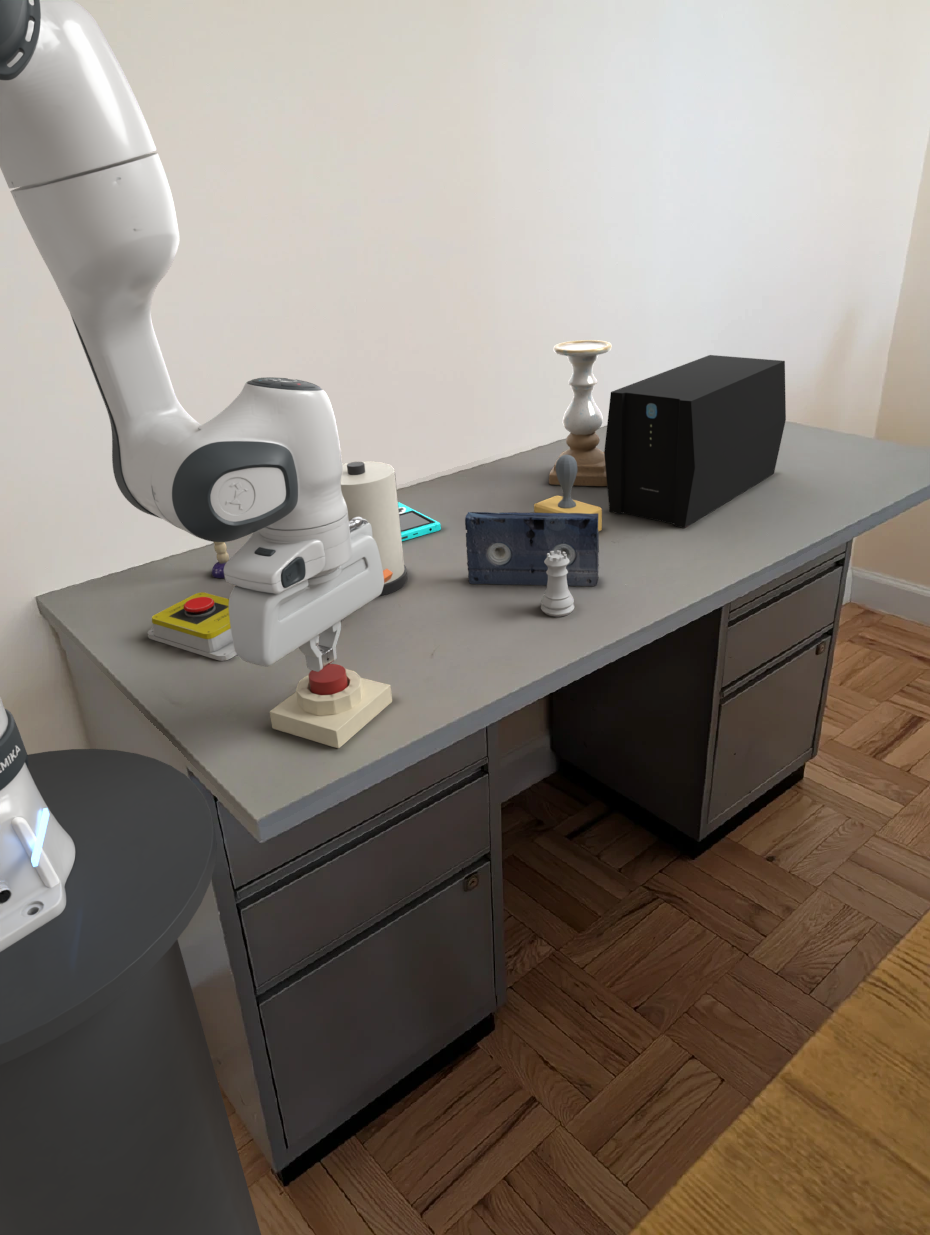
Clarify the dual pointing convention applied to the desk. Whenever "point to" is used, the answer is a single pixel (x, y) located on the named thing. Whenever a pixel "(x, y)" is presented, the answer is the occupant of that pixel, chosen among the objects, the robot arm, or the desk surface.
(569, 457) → the rubber stamp
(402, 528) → the handheld game console
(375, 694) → the button block
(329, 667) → the button
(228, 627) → the emergency button
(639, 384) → the uninterruptible power supply
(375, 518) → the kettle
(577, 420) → the candle holder
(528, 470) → the desk surface
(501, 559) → the vhs cassette tape
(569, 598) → the rook chess piece
